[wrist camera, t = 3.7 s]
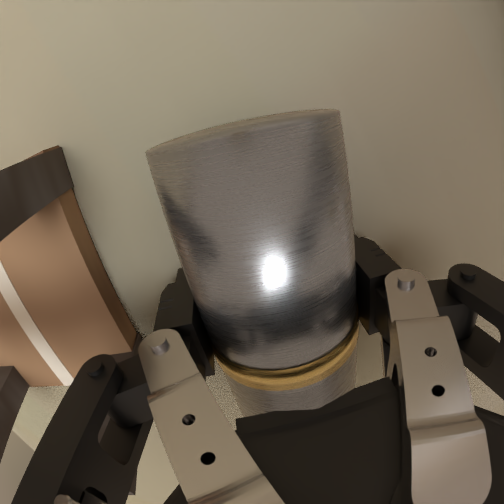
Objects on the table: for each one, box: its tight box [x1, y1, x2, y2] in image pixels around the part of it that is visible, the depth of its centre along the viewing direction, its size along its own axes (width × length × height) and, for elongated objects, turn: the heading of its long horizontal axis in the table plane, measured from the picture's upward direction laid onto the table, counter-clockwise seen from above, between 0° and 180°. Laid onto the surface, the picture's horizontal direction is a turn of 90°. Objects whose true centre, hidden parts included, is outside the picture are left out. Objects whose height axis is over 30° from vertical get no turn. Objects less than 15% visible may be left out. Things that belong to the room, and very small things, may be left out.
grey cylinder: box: [145, 109, 359, 417], centre depth 10 cm, size 11×5×5 cm, turn 12°
